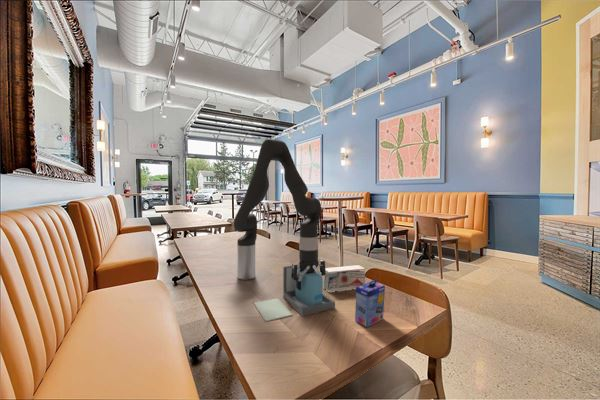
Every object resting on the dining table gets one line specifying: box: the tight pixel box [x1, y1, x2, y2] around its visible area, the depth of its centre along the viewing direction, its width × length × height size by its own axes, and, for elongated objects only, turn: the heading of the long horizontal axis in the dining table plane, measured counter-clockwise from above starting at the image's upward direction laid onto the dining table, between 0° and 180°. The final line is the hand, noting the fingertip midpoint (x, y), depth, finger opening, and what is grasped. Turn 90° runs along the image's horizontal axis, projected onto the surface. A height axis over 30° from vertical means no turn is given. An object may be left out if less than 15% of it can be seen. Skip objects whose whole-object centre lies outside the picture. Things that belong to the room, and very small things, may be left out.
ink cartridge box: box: [354, 278, 386, 328], centre depth 85 cm, size 10×6×14 cm, turn 128°
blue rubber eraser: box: [295, 270, 323, 306], centre depth 98 cm, size 12×4×12 cm, turn 37°
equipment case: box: [282, 265, 336, 317], centre depth 98 cm, size 18×14×13 cm
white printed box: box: [322, 264, 366, 293], centre depth 114 cm, size 20×6×9 cm, turn 107°
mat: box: [253, 298, 293, 323], centre depth 92 cm, size 15×10×1 cm, turn 26°
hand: (308, 288), depth 98 cm, fingers open, 8 cm apart
